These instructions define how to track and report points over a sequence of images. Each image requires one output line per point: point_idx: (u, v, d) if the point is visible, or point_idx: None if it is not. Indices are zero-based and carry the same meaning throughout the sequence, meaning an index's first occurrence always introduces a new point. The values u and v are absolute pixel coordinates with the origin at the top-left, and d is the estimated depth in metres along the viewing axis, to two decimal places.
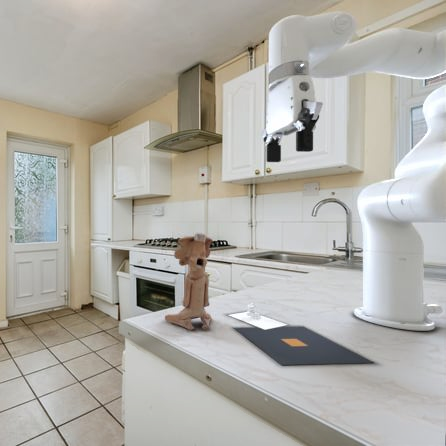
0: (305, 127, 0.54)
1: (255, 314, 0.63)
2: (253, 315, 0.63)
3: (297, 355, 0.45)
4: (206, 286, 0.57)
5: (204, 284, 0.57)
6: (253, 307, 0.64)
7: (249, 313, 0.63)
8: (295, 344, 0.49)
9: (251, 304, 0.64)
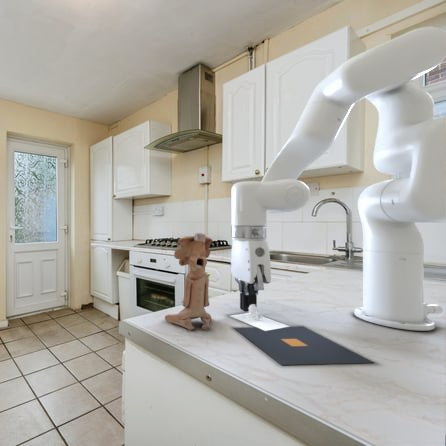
0: (249, 293, 0.64)
1: (256, 315, 0.62)
2: (255, 316, 0.62)
3: (297, 355, 0.45)
4: (206, 286, 0.57)
5: (204, 284, 0.57)
6: (254, 308, 0.63)
7: (250, 314, 0.63)
8: (295, 344, 0.49)
9: (252, 305, 0.63)
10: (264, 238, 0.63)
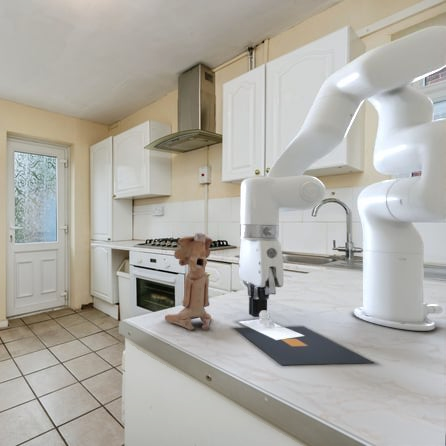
0: (259, 298, 0.59)
1: (268, 322, 0.57)
2: (266, 323, 0.58)
3: (297, 355, 0.45)
4: (206, 286, 0.57)
5: (204, 284, 0.57)
6: (266, 314, 0.58)
7: (261, 321, 0.58)
8: (295, 344, 0.49)
9: (264, 311, 0.59)
10: (276, 238, 0.58)
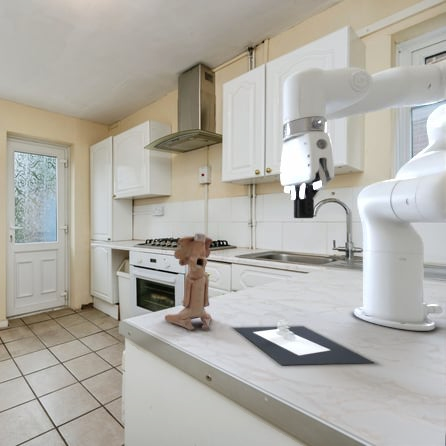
0: (306, 196, 0.57)
1: (287, 334, 0.51)
2: (285, 334, 0.52)
3: (297, 355, 0.45)
4: (206, 286, 0.57)
5: (204, 284, 0.57)
6: (285, 325, 0.52)
7: (280, 332, 0.52)
8: None
9: (282, 321, 0.53)
10: (324, 132, 0.56)
